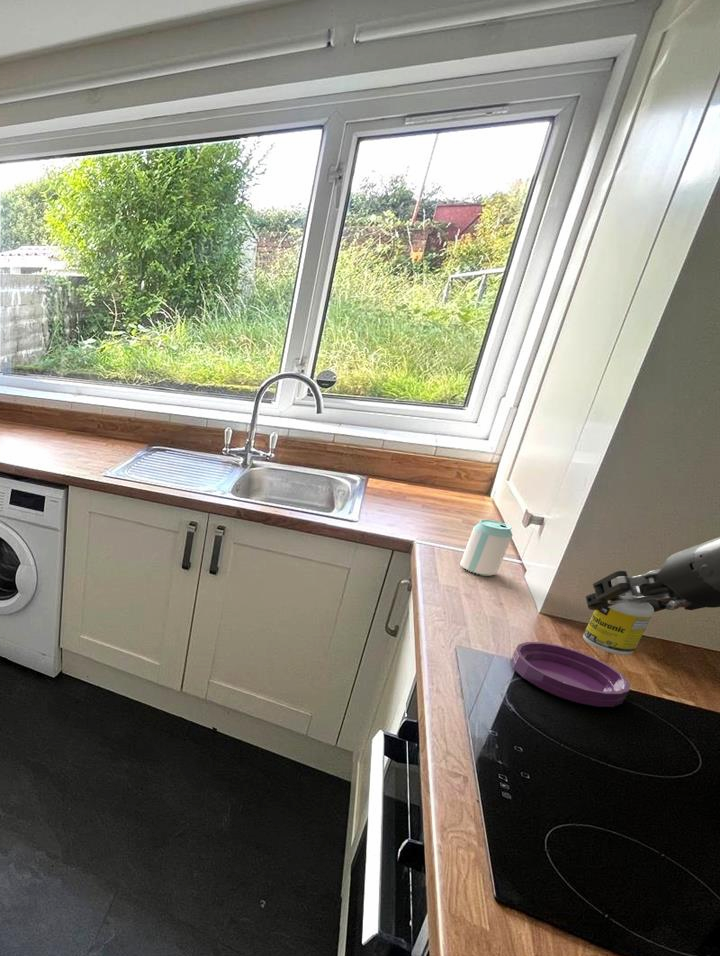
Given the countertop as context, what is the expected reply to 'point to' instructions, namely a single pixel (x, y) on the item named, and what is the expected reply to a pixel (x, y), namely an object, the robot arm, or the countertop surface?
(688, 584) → the robot arm
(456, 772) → the countertop surface
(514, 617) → the countertop surface
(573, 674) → the dish
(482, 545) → the can
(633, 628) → the supplement bottle
